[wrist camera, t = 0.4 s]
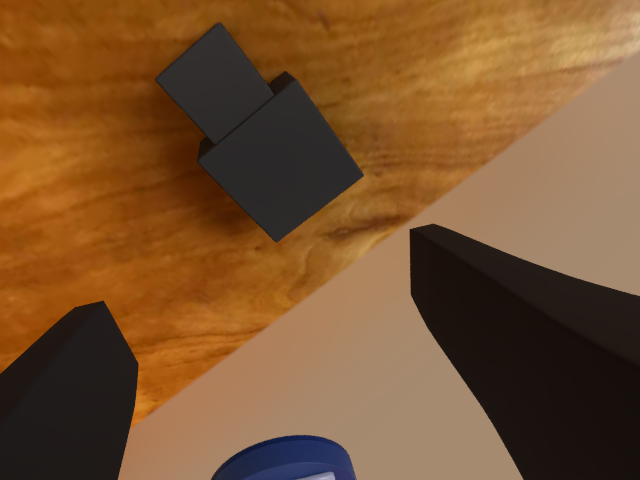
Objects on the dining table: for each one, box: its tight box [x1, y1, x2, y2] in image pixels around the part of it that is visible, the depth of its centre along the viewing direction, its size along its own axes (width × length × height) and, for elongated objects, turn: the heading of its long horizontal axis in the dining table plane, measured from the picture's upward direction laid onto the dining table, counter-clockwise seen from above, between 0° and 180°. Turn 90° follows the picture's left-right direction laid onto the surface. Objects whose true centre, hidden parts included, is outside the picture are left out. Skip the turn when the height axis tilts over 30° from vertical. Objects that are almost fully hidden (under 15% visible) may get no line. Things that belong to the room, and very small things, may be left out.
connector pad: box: [155, 22, 364, 242], centre depth 16 cm, size 8×5×3 cm, turn 36°
